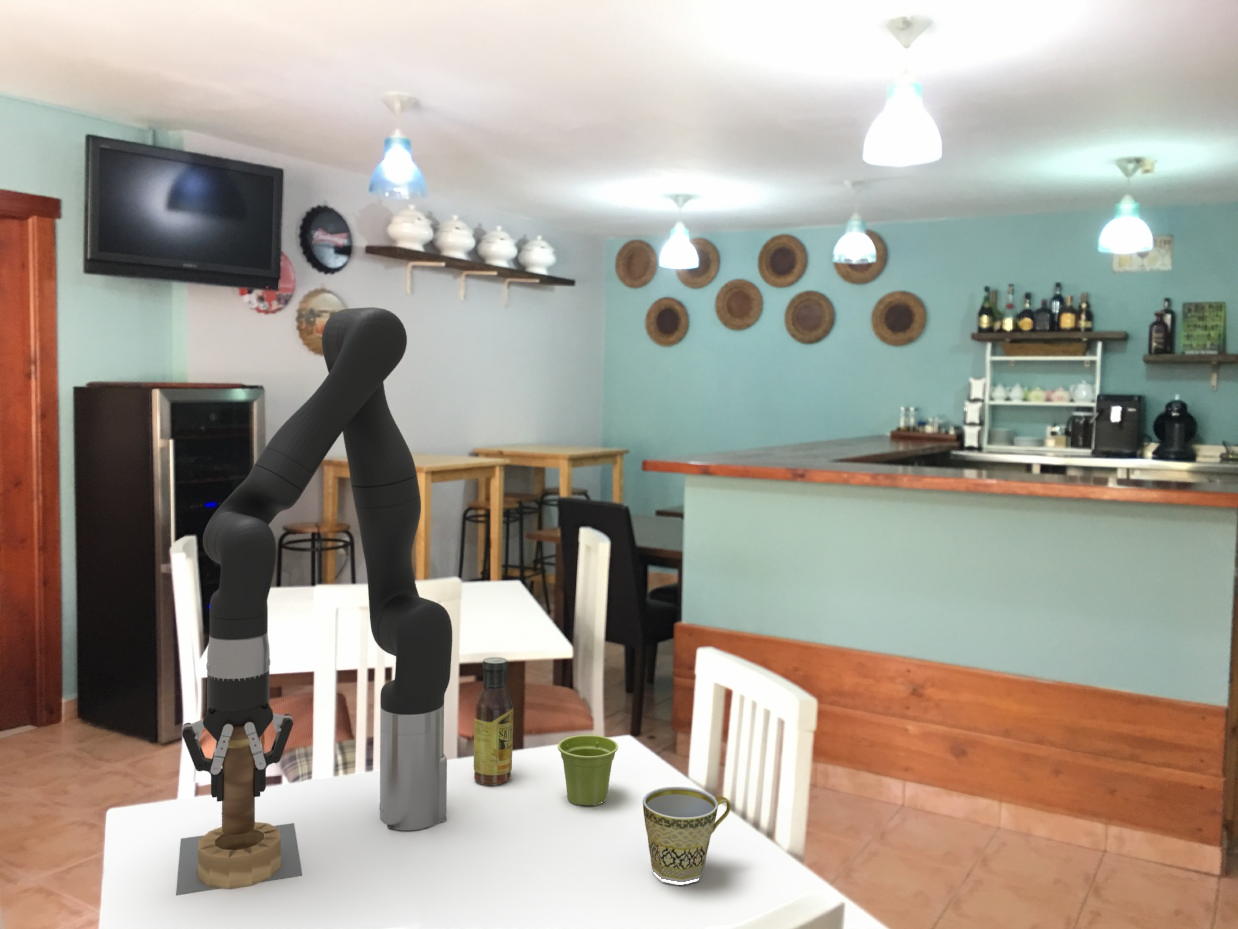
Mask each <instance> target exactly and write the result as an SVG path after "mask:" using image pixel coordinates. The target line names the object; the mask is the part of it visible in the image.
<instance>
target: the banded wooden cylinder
mask: <svg viewBox="0 0 1238 929" xmlns="http://www.w3.org/2000/svg"><path fill="white" fill-rule="evenodd" d="M252 739H253V738H252ZM221 768H222V773H223V801H221V827H222V832H223V833H225V834H228V835H240V834H244V833H247V832H250V831H251V830H253V829H254V827H255V822H256V821H255V820H256V818H255V817H256V816H255V815H256V814H255V813H256V812H255V811H256V810H255V809H256V797H254V785H255V760H254V757H253V754H252V751H251V748H250V738H248V736H247V735H246V732H245V728H244V726H236V727H233V731H232V734H231V737H230V740H228V748H227V751H226V754H225V757H224V760H223V763H222V767H221Z"/></svg>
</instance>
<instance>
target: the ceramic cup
mask: <svg viewBox="0 0 1238 929" xmlns="http://www.w3.org/2000/svg"><path fill="white" fill-rule="evenodd" d="M723 803H726V809H725V811H724V812H723V813H722V815H721V816H720V817H719V818H718V819H717V814H718V808H719V806H720V805H721V804H723ZM642 808H643V817H644V826H645V830H646V834H647V835H646V836H647V843H648V850H649V857H650V864H651V870H653V872H655V873H656V874H657V875H658V876H659V877H661V879H666V880H671V881H677V882H686V881H690V880H694V879H698V878H700V877H701V878H702V876H701V875H703V874H702V873H704V871H705V865H706V859H707V854H708V850H709V847H710V846H709V845H710V842H711V841H710V840H711V838H712V834H713V833H714V832H715V831H716V829H717V828H718V826H719V825H720V824H721V823H722V822H723V821H724V820H725V819H726V818H727V817H728V816H729V814H730V812H731V803H730V800H729V799H728V798H726V797H725V796H724V797H723V796H718V797H714V796H713V795H712V794H710V793H708V792H706V791H704V790H700V789H697V788H695V787H694V788H693V787H684V786H666V787H665V786H664V787H660V788H655V789H653V790H651V791H649V792H647V793H646V794H645V795H644V797H643V798H642ZM703 870H704V871H703ZM653 872H652V873H653ZM701 878H700V879H701Z"/></svg>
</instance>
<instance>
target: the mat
mask: <svg viewBox="0 0 1238 929" xmlns="http://www.w3.org/2000/svg"><path fill="white" fill-rule="evenodd" d="M273 826H274V827H276V828H278V829H280V837H281V867H280V868H279V869H278V870H277V871H276V872H275V873H274V874H273V875H272V876H271V877H270V878H268V879H265V880H263V881H261V882H258V883H264V882H271V881H277V880H278V881H279V880H285V879H291V878H297V877H302V876H303V870H302V865H301V864H302V863H301V859H300V853H299V852H300V851H299V847H298V846H299V845H298V841H297V839H298V838H297V834H296V828H295V823H294V822H293V823H292V822H291V823H284V824H277V825H273ZM204 835H205V834H204ZM204 835H198V836H197V835H196V836H190V837H183V838H182V837H181V838H180V844H179V858H178V867H177V869H178V870H177V879H176V888H175V889H176V891H175V892H176V893H175V896H181V895H187V894H188V895H189V894H195V893H201V892H207V891H213V890H219V889H222V888H217V887H209V886H208V885H206V884H204V883H203V882H201V881H200V880H198V840H200V839H201V838H202V837H203V836H204Z"/></svg>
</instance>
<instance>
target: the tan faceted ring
mask: <svg viewBox="0 0 1238 929" xmlns="http://www.w3.org/2000/svg"><path fill="white" fill-rule="evenodd" d="M274 826H275V825H272V824H271V823H269V822H258V821H255V827H254V829H253V830H251V831H250V832H247V833H244V834H240V835H228V834H225V833H223V832H222V826H220V827H218V828H217V827H216V828H215V829H213V830H210V831H208V832H207V833H205V834H204V836H203V835H202V836H203V837H202V838H201V839H200V840H198V880H200V881H201V882H203V883H204V884H206V885H208V886H209V887H217V888H221V889H228V890H231V889H236V888H243V887H244V888H245V887H249V886H253V885H256V884H257V883H258V882H259V883H262V882H261V881H263V880H265V879H268V878H270V877H271V876H272V875H273V874H274V873H275V872H276V871H277V870H278V869H279V868H280V867H281V837H280V829H278V828H276V827H274Z"/></svg>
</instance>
